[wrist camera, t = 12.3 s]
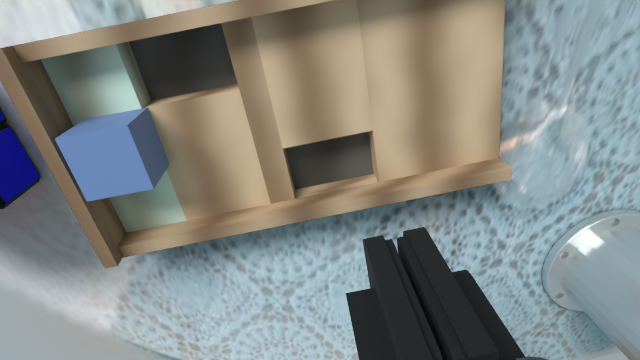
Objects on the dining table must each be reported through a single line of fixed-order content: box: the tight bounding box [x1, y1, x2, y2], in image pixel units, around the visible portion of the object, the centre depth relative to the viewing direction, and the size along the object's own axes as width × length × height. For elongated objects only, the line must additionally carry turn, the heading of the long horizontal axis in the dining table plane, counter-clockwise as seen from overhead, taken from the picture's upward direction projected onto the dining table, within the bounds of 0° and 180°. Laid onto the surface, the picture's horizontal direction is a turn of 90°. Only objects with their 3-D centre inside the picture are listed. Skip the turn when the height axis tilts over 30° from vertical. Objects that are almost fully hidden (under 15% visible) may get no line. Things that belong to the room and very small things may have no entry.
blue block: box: [55, 107, 170, 202], centre depth 26 cm, size 4×4×4 cm
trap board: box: [0, 0, 512, 268], centre depth 28 cm, size 32×16×6 cm, turn 101°
